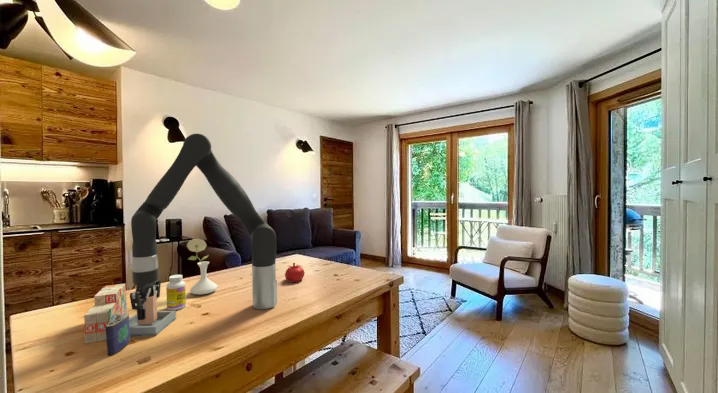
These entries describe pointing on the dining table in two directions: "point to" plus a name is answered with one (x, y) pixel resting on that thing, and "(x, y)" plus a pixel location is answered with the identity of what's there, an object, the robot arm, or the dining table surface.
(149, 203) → the robot arm
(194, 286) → the flower in vase
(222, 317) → the dining table surface
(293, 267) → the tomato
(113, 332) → the flask
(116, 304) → the stack of blocks
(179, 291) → the supplement bottle
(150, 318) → the beaker
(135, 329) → the tray
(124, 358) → the dining table surface
